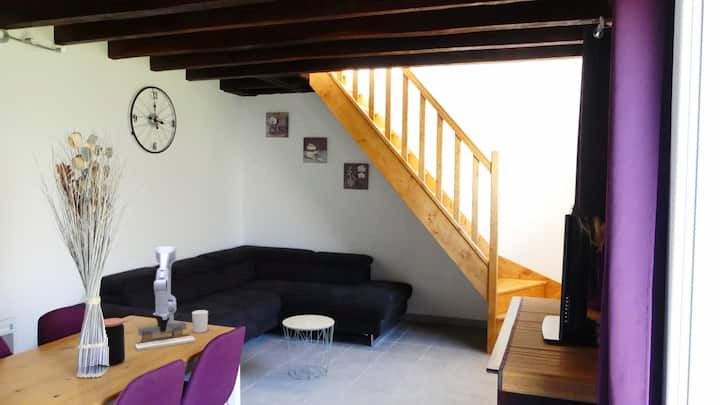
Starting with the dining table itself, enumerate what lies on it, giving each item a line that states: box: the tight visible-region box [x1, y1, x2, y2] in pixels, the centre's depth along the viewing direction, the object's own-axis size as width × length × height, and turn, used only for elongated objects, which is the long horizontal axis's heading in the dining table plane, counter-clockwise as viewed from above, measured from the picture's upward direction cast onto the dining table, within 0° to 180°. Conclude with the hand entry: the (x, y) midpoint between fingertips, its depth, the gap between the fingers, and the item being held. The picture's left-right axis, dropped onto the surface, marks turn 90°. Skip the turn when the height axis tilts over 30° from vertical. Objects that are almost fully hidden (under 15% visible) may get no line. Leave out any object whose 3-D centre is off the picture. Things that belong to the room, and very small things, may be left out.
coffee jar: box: [103, 317, 126, 367], centre depth 228 cm, size 11×11×18 cm
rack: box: [140, 328, 184, 344], centre depth 260 cm, size 6×19×5 cm, turn 121°
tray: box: [134, 335, 196, 352], centre depth 253 cm, size 7×26×1 cm, turn 121°
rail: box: [137, 321, 187, 337], centre depth 260 cm, size 3×22×3 cm, turn 121°
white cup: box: [191, 309, 209, 334], centre depth 275 cm, size 8×8×10 cm
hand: (162, 330), depth 260 cm, fingers closed on rail, 3 cm apart
